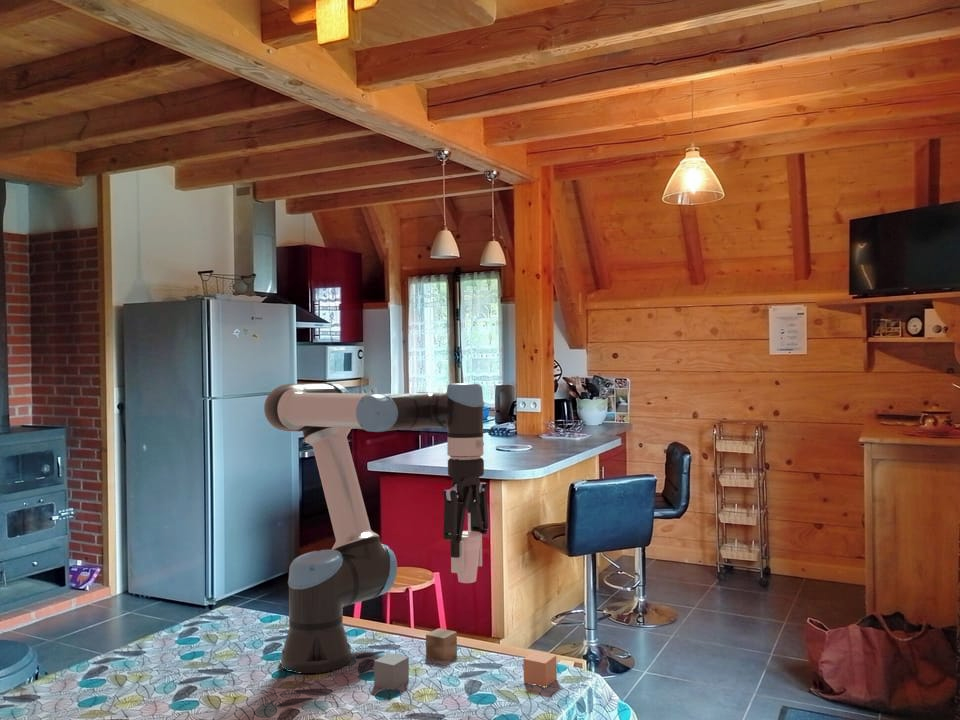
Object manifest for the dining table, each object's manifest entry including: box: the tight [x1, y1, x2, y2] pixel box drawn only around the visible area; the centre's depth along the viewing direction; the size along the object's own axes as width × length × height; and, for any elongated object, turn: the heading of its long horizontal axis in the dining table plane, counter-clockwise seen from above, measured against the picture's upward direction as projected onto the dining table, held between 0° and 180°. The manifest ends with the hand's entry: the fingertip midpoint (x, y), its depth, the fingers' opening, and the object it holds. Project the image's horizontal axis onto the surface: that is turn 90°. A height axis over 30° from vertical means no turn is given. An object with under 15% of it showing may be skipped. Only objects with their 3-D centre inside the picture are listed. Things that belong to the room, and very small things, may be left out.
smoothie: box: [456, 512, 483, 584], centre depth 155 cm, size 6×6×14 cm
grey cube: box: [373, 652, 410, 691], centre depth 154 cm, size 5×5×5 cm
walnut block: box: [425, 627, 458, 662], centre depth 169 cm, size 5×5×5 cm
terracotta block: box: [523, 650, 558, 687], centre depth 154 cm, size 5×5×5 cm
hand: (467, 568), depth 155 cm, fingers closed on smoothie, 6 cm apart
